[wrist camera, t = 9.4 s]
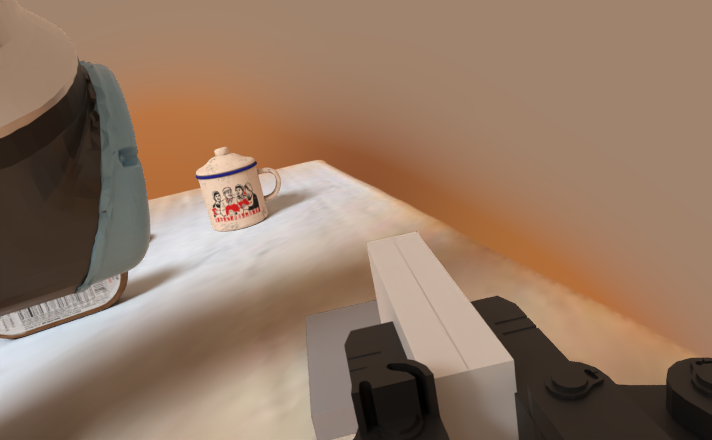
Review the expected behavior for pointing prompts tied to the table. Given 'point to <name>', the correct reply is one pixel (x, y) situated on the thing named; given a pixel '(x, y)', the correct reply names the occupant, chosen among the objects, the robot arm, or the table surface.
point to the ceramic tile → (334, 367)
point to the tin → (63, 308)
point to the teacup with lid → (234, 190)
